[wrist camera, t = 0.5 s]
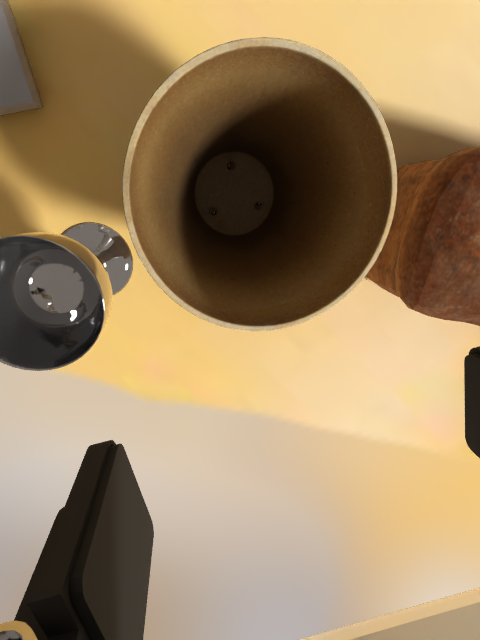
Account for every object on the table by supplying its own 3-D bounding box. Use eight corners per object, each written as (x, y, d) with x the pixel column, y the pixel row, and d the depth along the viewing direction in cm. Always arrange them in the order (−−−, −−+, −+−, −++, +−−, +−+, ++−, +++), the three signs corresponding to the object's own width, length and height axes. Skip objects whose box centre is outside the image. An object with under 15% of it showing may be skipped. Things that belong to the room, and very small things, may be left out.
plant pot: (116, 171, 34) (57, 155, 19) (258, 69, 33) (318, -35, 18) (212, 305, 39) (227, 378, 24) (339, 221, 38) (439, 240, 22)
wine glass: (127, 212, 35) (85, 226, 21) (144, 296, 37) (117, 360, 23) (37, 223, 34) (-70, 245, 20) (61, 308, 37) (-19, 380, 23)
